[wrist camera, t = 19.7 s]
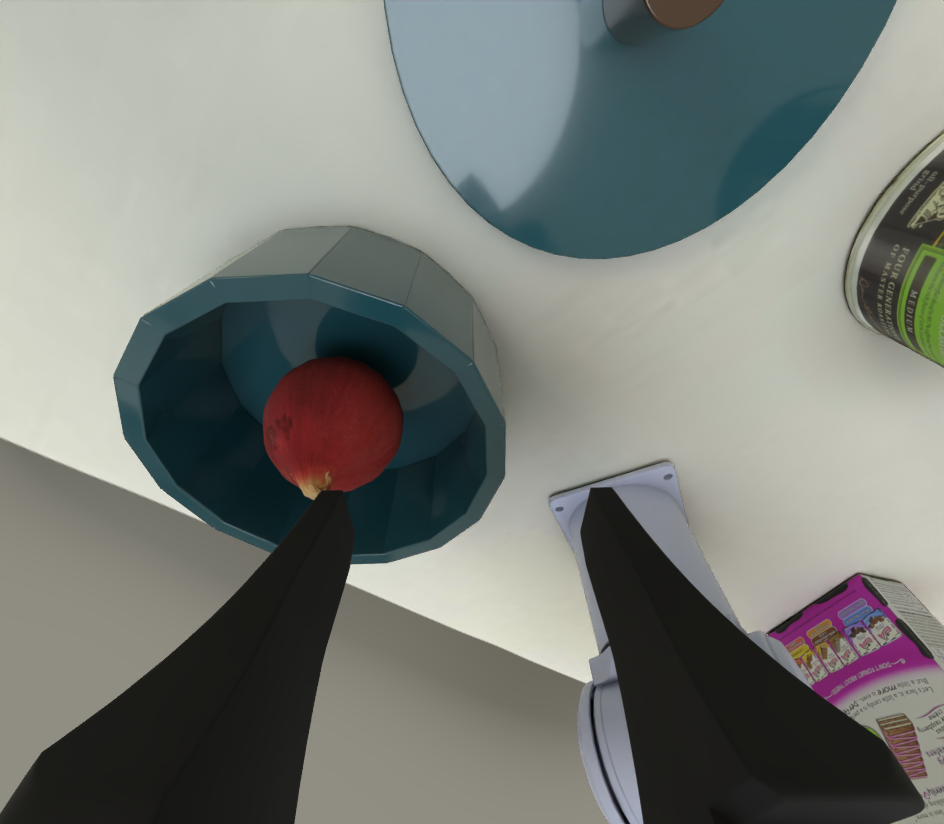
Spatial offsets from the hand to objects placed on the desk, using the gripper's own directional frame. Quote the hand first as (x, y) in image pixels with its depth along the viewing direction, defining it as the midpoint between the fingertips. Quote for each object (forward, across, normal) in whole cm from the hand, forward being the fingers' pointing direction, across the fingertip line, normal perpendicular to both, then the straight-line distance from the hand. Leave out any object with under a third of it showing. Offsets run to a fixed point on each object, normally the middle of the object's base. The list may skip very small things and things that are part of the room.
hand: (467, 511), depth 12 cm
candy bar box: (+11, -32, +26) cm, 42 cm away
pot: (+10, +6, +2) cm, 12 cm away
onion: (+10, +6, +2) cm, 12 cm away
